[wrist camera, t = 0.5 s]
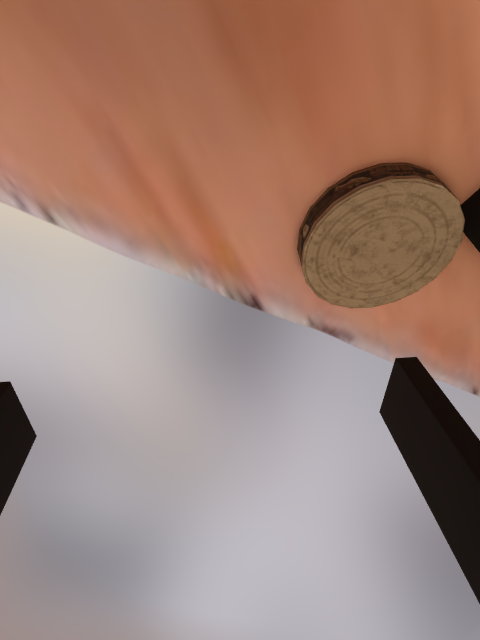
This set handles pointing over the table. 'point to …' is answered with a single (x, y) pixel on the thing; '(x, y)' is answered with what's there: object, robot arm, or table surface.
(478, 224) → the box
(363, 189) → the wood slice
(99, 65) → the table surface
